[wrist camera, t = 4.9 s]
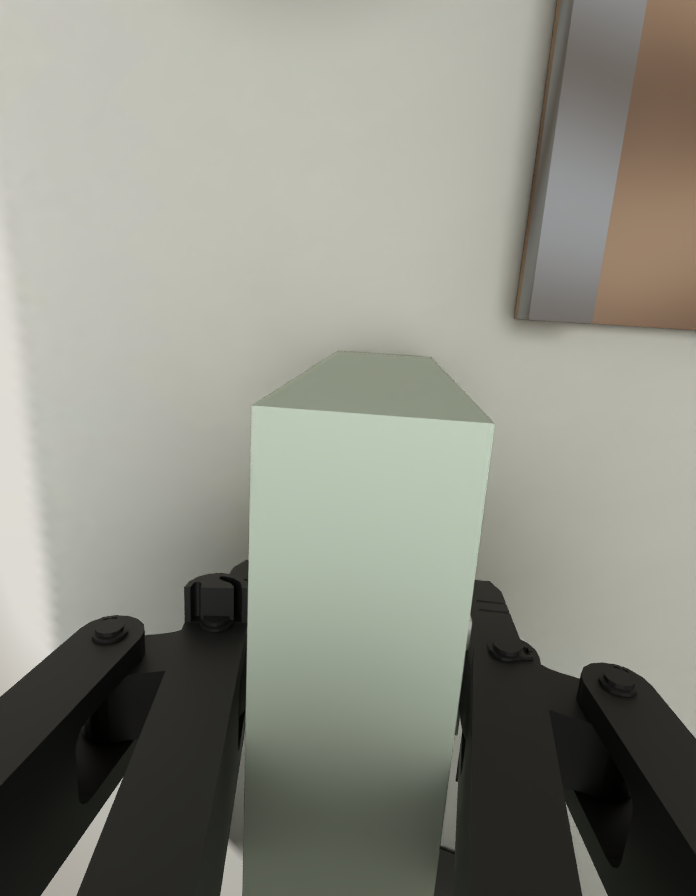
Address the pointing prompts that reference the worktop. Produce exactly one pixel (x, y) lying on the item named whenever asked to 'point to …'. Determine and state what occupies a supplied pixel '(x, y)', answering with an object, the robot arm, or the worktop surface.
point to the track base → (650, 182)
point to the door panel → (357, 622)
